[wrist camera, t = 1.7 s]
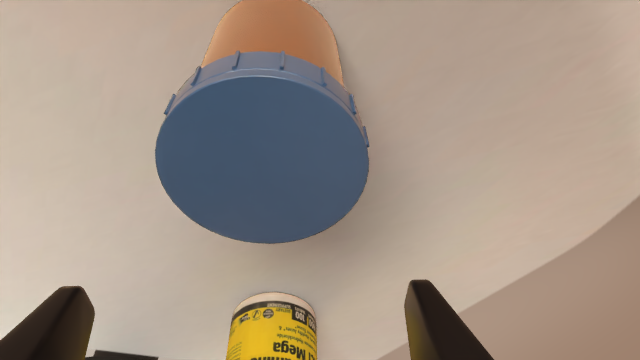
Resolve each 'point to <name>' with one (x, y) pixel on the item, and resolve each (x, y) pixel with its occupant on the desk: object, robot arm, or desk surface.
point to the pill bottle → (273, 329)
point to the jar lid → (263, 148)
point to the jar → (276, 33)
